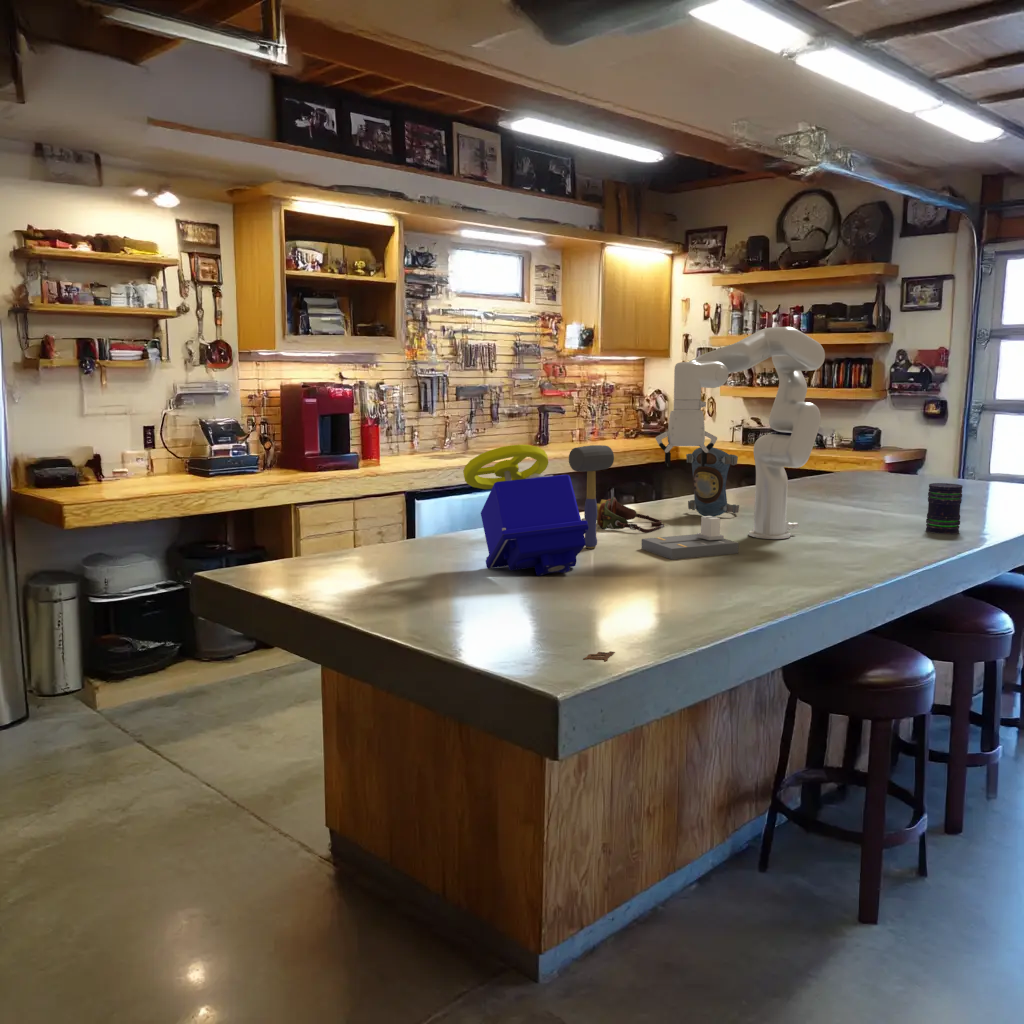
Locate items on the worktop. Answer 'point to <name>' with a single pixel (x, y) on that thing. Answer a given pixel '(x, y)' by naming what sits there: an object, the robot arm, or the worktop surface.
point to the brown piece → (599, 656)
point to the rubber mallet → (591, 481)
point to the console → (688, 546)
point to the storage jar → (944, 508)
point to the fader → (710, 528)
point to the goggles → (621, 516)
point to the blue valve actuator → (527, 512)
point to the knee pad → (711, 482)
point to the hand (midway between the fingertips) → (685, 466)
